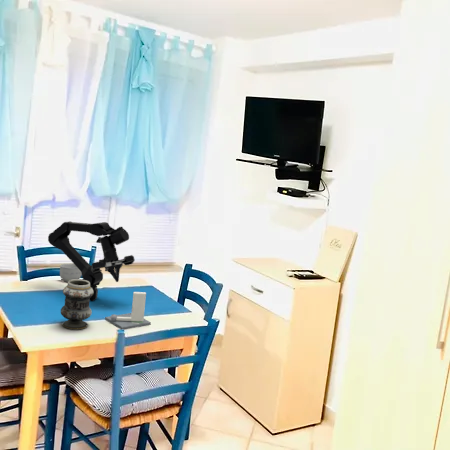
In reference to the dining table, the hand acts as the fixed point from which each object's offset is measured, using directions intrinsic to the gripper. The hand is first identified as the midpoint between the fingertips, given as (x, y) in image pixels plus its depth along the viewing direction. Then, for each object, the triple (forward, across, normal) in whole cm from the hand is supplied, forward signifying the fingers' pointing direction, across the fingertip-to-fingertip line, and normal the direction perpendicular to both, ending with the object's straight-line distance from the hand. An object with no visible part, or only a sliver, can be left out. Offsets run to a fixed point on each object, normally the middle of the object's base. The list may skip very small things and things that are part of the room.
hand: (117, 281), depth 239 cm
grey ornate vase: (+16, +23, +10) cm, 30 cm away
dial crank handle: (+19, +2, +8) cm, 21 cm away
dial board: (+19, +1, +6) cm, 20 cm away
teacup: (-16, +12, -44) cm, 48 cm away
